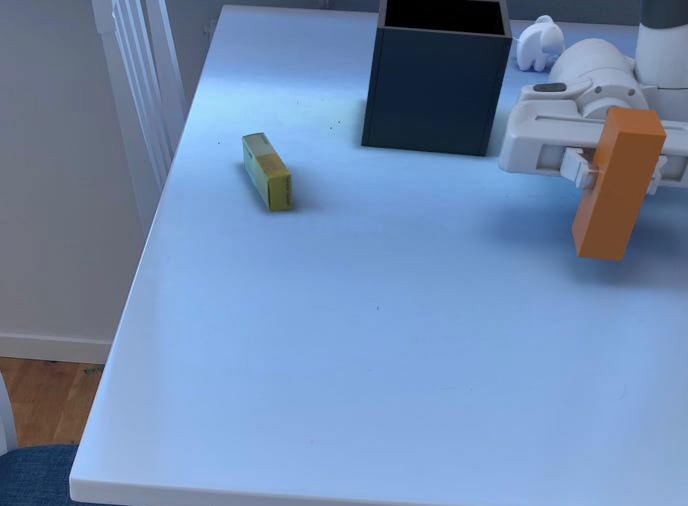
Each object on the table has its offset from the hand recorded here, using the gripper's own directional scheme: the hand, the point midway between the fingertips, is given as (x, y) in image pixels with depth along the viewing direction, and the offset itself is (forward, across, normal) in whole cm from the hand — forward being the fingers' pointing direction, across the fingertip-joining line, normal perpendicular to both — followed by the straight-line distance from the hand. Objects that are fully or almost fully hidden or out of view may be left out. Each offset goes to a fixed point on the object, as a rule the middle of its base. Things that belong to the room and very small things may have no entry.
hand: (618, 183), depth 85 cm
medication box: (-14, +33, -10) cm, 37 cm away
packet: (-1, 0, -6) cm, 6 cm away
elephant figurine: (-63, 0, -9) cm, 64 cm away
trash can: (-35, +16, -9) cm, 39 cm away
